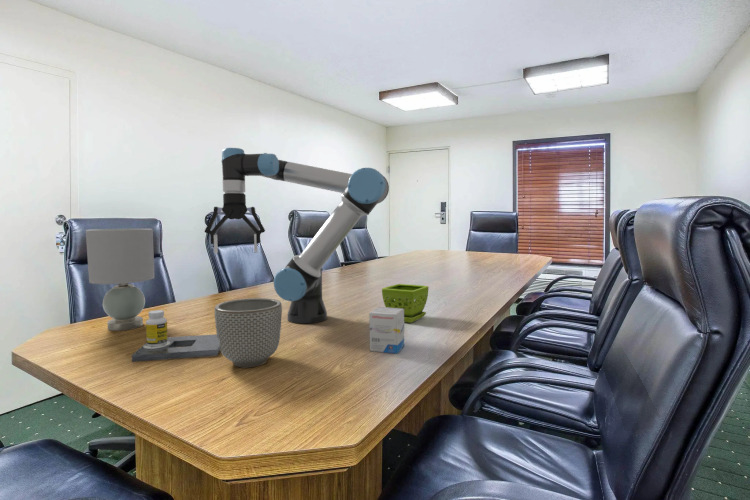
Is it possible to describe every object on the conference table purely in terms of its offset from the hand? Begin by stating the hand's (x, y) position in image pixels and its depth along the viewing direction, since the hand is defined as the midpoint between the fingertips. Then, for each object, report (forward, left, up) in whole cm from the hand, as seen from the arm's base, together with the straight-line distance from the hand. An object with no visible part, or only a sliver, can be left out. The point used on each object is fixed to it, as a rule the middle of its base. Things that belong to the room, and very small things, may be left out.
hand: (236, 252), depth 144 cm
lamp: (+40, -8, -27) cm, 49 cm away
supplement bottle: (+20, +24, -25) cm, 40 cm away
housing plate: (+13, +24, -27) cm, 38 cm away
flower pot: (-62, +4, -27) cm, 68 cm away
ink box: (-47, +36, -27) cm, 65 cm away
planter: (-8, +39, -27) cm, 48 cm away
